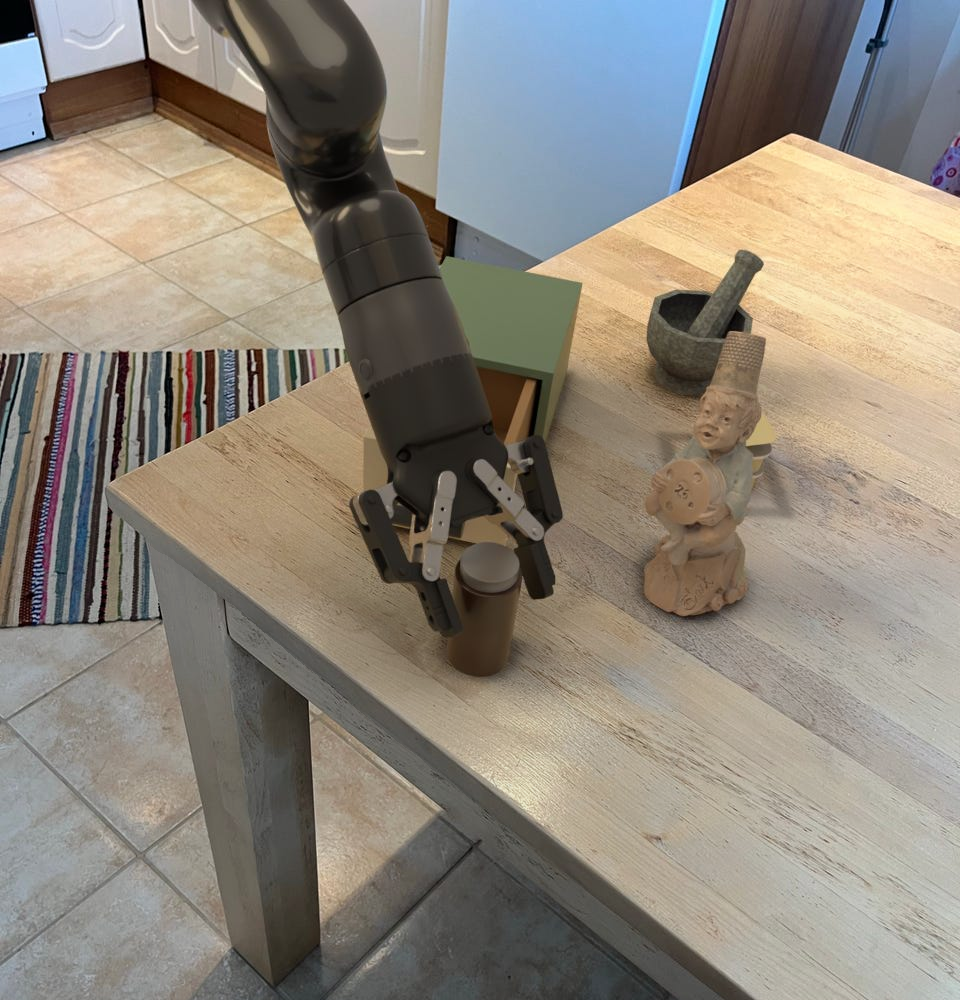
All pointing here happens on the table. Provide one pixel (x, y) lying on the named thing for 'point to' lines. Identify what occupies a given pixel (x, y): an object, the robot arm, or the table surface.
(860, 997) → the table surface
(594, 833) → the table surface
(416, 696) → the table surface
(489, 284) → the cabinet
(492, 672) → the pepper mill
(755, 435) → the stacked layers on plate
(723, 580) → the figurine
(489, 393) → the drawer
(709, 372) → the mortar and pestle
